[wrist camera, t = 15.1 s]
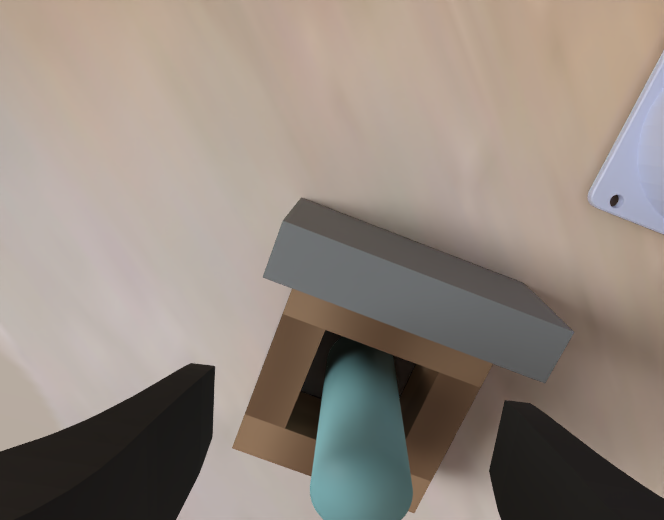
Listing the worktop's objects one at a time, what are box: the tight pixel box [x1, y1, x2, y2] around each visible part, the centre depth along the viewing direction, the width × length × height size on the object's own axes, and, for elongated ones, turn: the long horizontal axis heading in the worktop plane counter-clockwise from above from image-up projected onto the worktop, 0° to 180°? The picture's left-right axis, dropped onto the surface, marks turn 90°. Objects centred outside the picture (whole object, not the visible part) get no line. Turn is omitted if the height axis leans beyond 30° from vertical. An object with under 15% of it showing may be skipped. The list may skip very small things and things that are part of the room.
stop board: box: [263, 198, 574, 383], centre depth 18 cm, size 10×2×5 cm, turn 69°
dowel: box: [310, 337, 413, 520], centre depth 18 cm, size 3×3×8 cm
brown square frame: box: [232, 289, 493, 513], centre depth 20 cm, size 8×8×3 cm
